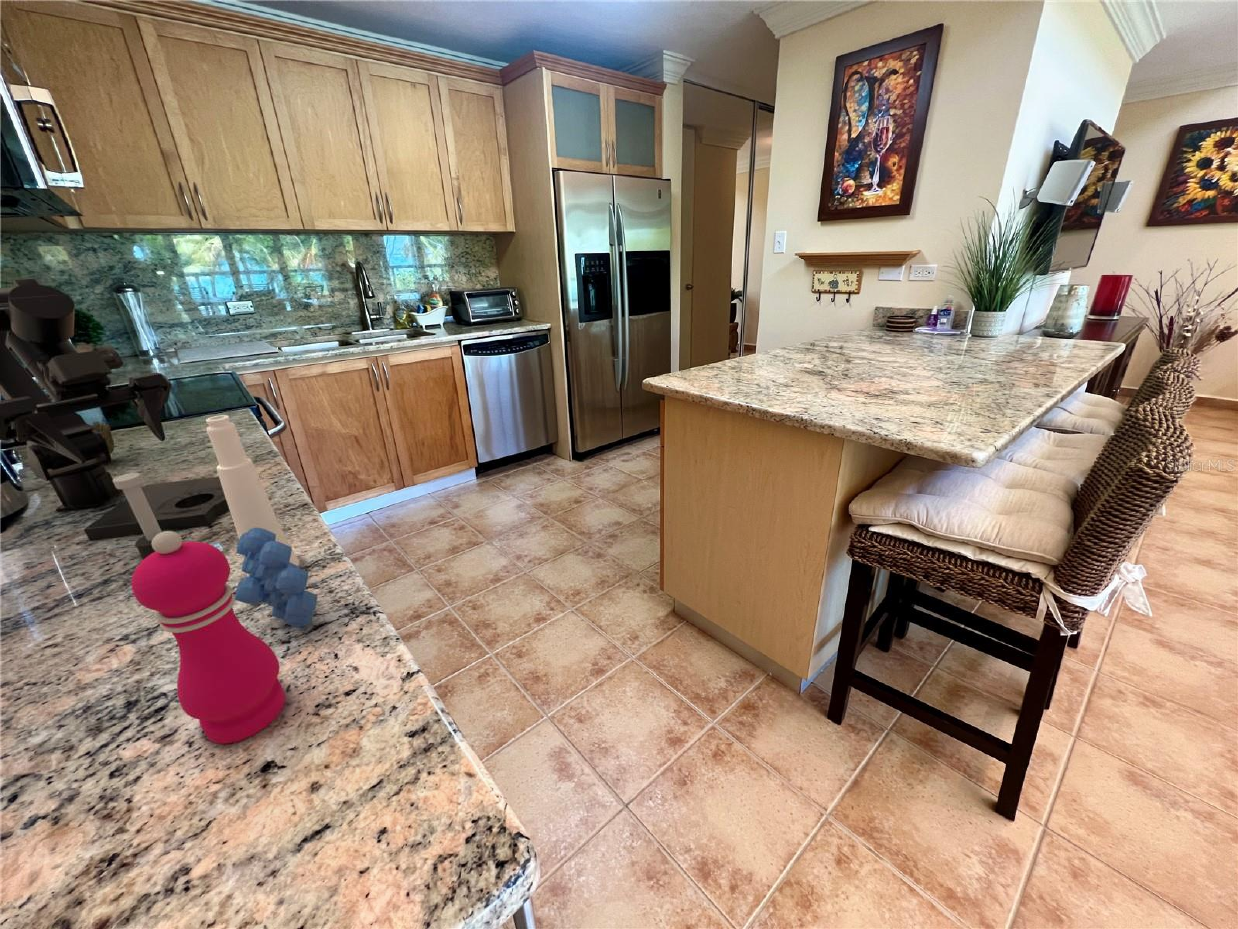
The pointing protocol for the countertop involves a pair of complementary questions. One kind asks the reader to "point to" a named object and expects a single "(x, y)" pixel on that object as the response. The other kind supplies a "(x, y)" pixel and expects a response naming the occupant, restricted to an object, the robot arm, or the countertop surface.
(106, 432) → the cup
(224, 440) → the cosmetic bottle
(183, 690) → the pepper mill
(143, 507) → the stopper
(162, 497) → the plate
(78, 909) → the countertop surface
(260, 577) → the grapes
